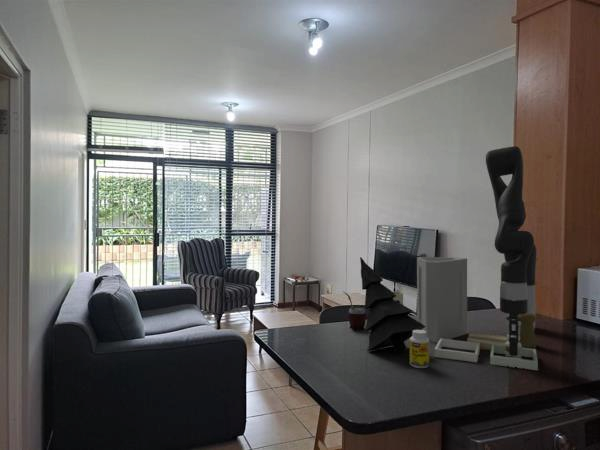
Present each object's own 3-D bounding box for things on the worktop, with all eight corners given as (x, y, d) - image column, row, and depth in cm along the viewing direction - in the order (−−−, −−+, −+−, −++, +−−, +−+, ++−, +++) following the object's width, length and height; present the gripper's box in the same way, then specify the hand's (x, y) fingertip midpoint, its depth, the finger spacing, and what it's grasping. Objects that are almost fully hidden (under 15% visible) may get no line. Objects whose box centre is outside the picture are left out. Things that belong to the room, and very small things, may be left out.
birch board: (469, 337, 155) (469, 332, 155) (506, 341, 150) (506, 336, 150) (466, 347, 145) (466, 341, 145) (506, 352, 139) (506, 345, 139)
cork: (539, 348, 143) (539, 315, 143) (519, 347, 144) (519, 314, 144) (533, 342, 149) (533, 311, 149) (514, 341, 150) (514, 310, 150)
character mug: (393, 329, 168) (393, 295, 168) (378, 325, 173) (378, 293, 173) (409, 324, 175) (409, 292, 175) (395, 320, 181) (394, 290, 180)
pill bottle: (502, 358, 133) (502, 333, 133) (516, 358, 134) (516, 333, 133) (510, 363, 129) (510, 337, 129) (524, 362, 129) (524, 337, 129)
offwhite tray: (440, 345, 147) (440, 338, 147) (479, 350, 141) (479, 342, 141) (434, 356, 135) (434, 348, 135) (477, 362, 130) (477, 354, 130)
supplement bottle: (409, 367, 126) (409, 333, 126) (410, 361, 131) (410, 328, 131) (429, 369, 124) (429, 334, 124) (429, 363, 130) (429, 329, 129)
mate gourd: (369, 327, 170) (368, 290, 170) (360, 332, 164) (360, 293, 163) (351, 325, 174) (351, 288, 174) (343, 330, 168) (342, 291, 167)
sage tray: (491, 351, 140) (491, 344, 140) (535, 357, 134) (535, 349, 134) (490, 364, 128) (490, 355, 128) (537, 370, 123) (537, 361, 123)
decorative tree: (404, 355, 147) (365, 266, 163) (432, 339, 136) (387, 245, 153) (371, 363, 139) (333, 268, 156) (398, 347, 129) (354, 247, 145)
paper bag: (434, 325, 173) (434, 255, 172) (468, 333, 161) (468, 258, 161) (403, 333, 162) (402, 259, 161) (437, 342, 150) (436, 262, 149)
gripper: (500, 291, 139) (500, 344, 139) (499, 299, 126) (499, 358, 126) (526, 293, 136) (526, 347, 136) (528, 302, 123) (528, 361, 123)
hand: (513, 352), depth 131 cm, fingers closed on pill bottle, 4 cm apart
